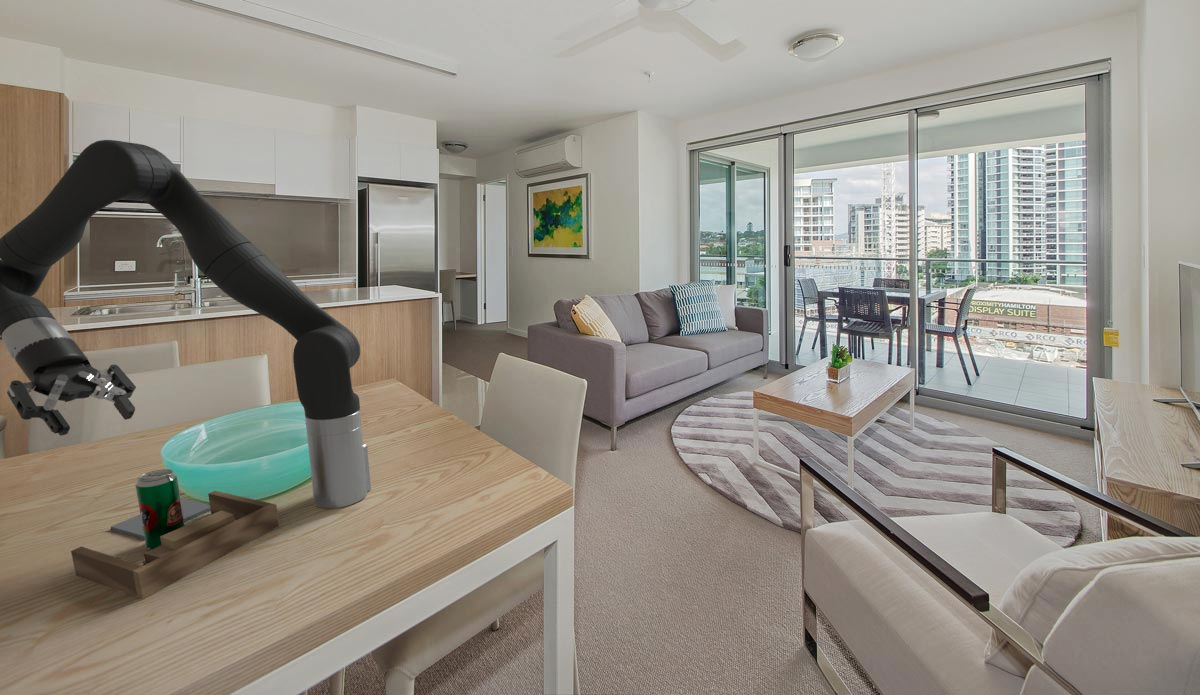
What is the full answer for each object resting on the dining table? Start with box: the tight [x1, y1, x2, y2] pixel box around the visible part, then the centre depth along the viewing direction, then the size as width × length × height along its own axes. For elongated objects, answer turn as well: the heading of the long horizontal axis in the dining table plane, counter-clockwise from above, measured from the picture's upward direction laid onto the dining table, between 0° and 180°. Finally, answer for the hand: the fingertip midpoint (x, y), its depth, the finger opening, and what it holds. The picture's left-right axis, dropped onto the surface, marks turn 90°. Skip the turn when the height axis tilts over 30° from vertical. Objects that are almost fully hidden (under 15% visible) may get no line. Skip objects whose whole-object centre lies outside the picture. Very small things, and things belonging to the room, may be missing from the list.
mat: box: [110, 497, 211, 540], centre depth 92 cm, size 11×9×1 cm
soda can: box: [134, 468, 186, 551], centre depth 83 cm, size 5×5×12 cm
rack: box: [70, 490, 280, 600], centre depth 82 cm, size 20×15×4 cm
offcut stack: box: [142, 510, 236, 566], centre depth 81 cm, size 12×5×4 cm, turn 160°
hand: (99, 423), depth 85 cm, fingers open, 8 cm apart
